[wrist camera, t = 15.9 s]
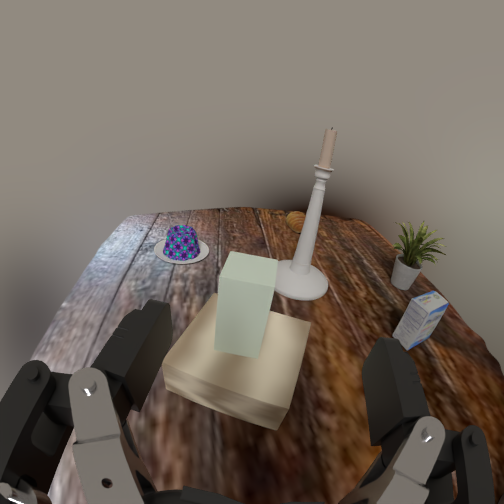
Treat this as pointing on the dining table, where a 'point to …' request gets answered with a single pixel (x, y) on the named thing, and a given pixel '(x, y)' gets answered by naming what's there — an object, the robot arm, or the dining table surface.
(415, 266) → the house plant
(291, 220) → the pastry
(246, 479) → the dining table surface
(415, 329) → the medicine box
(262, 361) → the oak block
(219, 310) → the pale green block
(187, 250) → the pudding
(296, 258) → the candlestick
